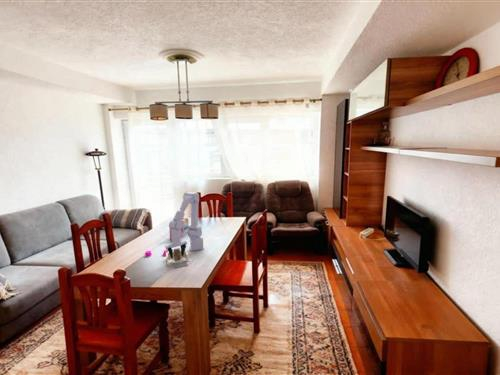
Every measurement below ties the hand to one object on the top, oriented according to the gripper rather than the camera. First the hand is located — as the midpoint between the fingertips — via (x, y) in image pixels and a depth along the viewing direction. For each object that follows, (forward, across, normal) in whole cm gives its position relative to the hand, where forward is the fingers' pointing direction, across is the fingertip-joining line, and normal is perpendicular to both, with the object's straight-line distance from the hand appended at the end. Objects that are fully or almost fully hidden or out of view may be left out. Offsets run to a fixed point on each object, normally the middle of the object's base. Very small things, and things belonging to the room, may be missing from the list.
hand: (177, 256), depth 186 cm
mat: (+2, +2, +9) cm, 10 cm away
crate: (+2, 0, 0) cm, 2 cm away
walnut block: (+2, 0, 0) cm, 2 cm away
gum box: (+3, -21, -49) cm, 53 cm away
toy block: (+7, +9, -17) cm, 21 cm away
